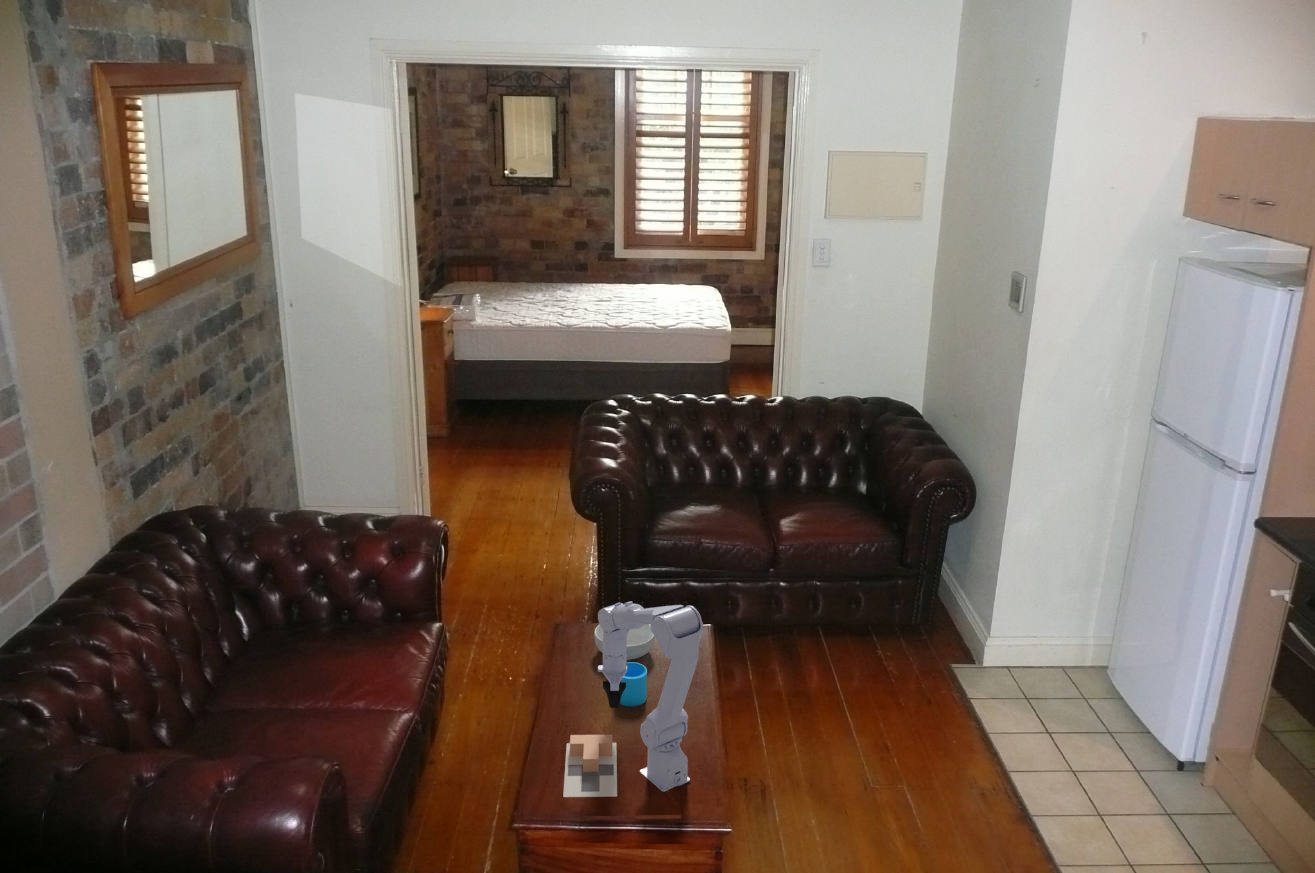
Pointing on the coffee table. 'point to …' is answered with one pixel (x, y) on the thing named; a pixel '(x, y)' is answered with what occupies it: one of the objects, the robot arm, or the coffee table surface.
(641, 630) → the cereal bowl
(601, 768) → the push mat
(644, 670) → the mug
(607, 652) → the robot arm
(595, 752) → the t block
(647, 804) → the coffee table surface
